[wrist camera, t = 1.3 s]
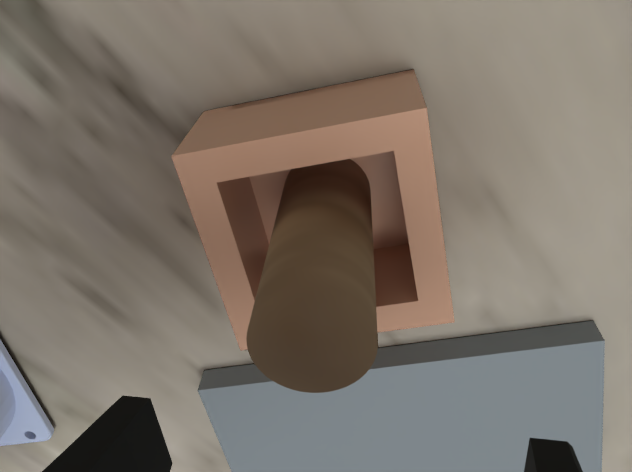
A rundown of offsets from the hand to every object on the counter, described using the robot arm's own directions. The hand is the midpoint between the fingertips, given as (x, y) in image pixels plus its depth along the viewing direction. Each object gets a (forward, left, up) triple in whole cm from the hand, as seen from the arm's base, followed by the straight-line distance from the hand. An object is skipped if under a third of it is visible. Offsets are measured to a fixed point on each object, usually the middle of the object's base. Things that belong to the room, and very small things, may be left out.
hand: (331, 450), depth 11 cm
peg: (0, 0, -11) cm, 11 cm away
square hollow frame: (0, 0, -11) cm, 11 cm away
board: (+1, -11, -11) cm, 16 cm away
